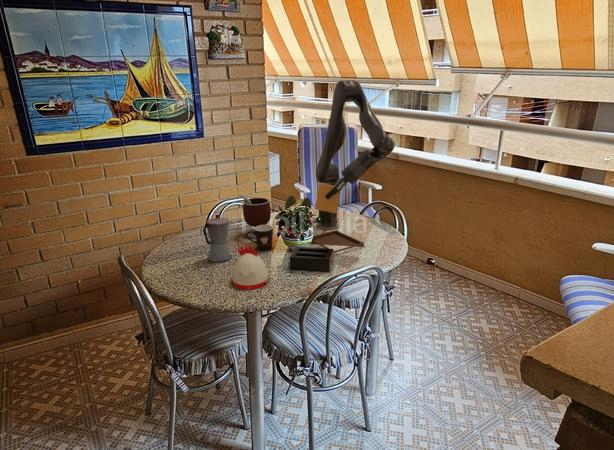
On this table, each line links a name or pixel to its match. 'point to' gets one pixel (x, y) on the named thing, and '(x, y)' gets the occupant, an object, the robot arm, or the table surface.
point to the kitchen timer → (249, 270)
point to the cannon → (300, 202)
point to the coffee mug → (263, 237)
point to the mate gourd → (256, 212)
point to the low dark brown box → (312, 259)
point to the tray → (336, 240)
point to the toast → (322, 202)
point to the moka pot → (217, 238)
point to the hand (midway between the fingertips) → (326, 197)
